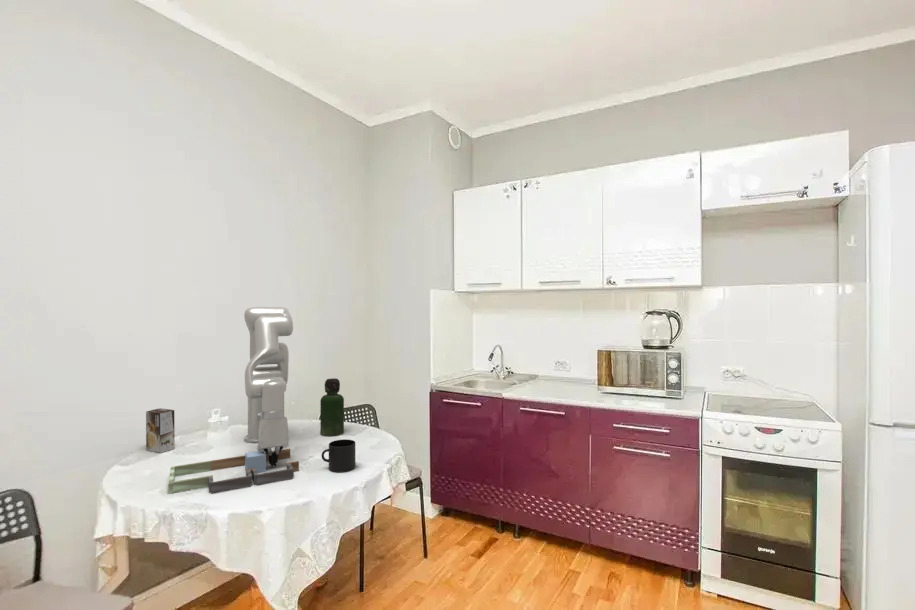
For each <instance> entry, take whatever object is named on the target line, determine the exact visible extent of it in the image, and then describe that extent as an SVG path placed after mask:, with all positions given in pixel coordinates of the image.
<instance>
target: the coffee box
mask: <svg viewBox="0 0 915 610" xmlns="http://www.w3.org/2000/svg"><path fill="white" fill-rule="evenodd" d="M175 432H176V431H175V410H174V409H167V408H155V409H151V410H147V411H145V437H146V438H145V450H146V451H147V452H153V453H158V454H162V453H165V452H168V451H171V450H175V445H176V444H175V436H176V435H175Z"/></svg>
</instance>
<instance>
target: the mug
mask: <svg viewBox="0 0 915 610" xmlns="http://www.w3.org/2000/svg"><path fill="white" fill-rule="evenodd" d="M326 452H327V453H328V459H327V458H326V457H325V454H326ZM321 459H322V460H323V461H324V462H327V463H328V470H329V471H330V472H331V473H333V472H334V473H346V472H350V471H352V470H354V469H355V467H356V441H355V440H352V439H335V440H333V441H330V442H329V443H328V448H326V449H325V450H323V451H322V453H321Z"/></svg>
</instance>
